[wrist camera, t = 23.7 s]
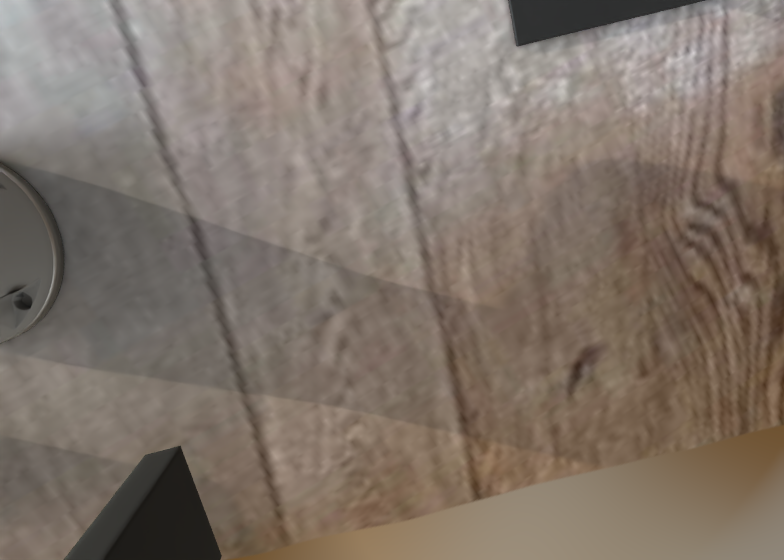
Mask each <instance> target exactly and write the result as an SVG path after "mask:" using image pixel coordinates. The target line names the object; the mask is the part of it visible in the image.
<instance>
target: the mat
mask: <svg viewBox="0 0 784 560" xmlns="http://www.w3.org/2000/svg"><path fill="white" fill-rule="evenodd" d="M508 1H509V7H510V13H511V18H512V24H513V29H514V35H515V41H516V46H521V45H525V44H529V43H533V42H537V41H541V40H545V39H549V38H553V37H557V36H562V35H566V34H570V33H574V32H578V31H582V30H586V29H590V28H594V27H598V26H603V25H607V24H611V23H615V22H619V21H623V20H627V19H631V18H635V17H639V16H644V15H648V14H652V13H656V12H660V11H664V10H668V9H672V8H676V7H680V6H685V5H689V4H693V3H697V2H701V1H705V0H508Z"/></svg>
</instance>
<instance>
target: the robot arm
mask: <svg viewBox="0 0 784 560" xmlns="http://www.w3.org/2000/svg"><path fill="white" fill-rule="evenodd" d="M63 272H64V251H63V244H62V240H61V236H60V232H59V229H58V227H57V224H56V222H55V219H54V217H53V215H52V214H51V212H50V210H49V208H48V207H47V205H46V204H45V202H44V201H43V199H42V198H41V197H40V195H39V194H38V193H37V192H36V191H35V190H34V189H33V188H32V186H31V185H30V184H28V183H27V182H26V181H25V180H24V179H23V178H22V177H20V176H19V175H18V174H16V173H15V172H14V171H12V170H11V169H9V168H8V167H6V166H4V165H2V164H0V344H1V343H3V342H6V341H8V340H10V339H12V338H15V337H17V336H19V335H21V334H23V333H25V332H26V331H28V330H29V329H31V328H32V327H33V326H34V325H36V324H37V323H38V322H39V321H40V320H41V319H42V318H43V317H44V316H45V315H46V313H47V312H48V311H49V309H50V308H51V306H52V305H53V303H54V301H55V299H56V297H57V295H58V293H59V290H60V287H61V283H62V279H63ZM221 556H222V555H221V553H220V550H219V547H218V545H217V542H216V539H215V537H214V534H213V531H212V529H211V526H210V523H209V521H208V518H207V515H206V513H205V510H204V507H203V505H202V502H201V499H200V497H199V494H198V491H197V489H196V486H195V484H194V481H193V478H192V476H191V473H190V470H189V468H188V465H187V462H186V460H185V457H184V454H183V452H182V449H181V446H178V447H174V448H170V449H166V450H163V451H159V452H155V453H151V454H147V455H145V456H144V457H143V459H142V460H141V461H140V462H139V464H138V465H137V466H136V468H135V469H134V470H133V471H132V473H131V474H130V475H129V477H128V478H127V479H126V480H125V482H124V483H123V484H122V486H121V487H120V488H119V489H118V491H117V492H116V493H115V495H114V496H113V497H112V498H111V500H110V501H109V502H108V504H107V505H106V506H105V507H104V509H103V510H102V511H101V513H100V514H99V515H98V516H97V518H96V519H95V520H94V522H93V523H92V524H91V525H90V527H89V528H88V529H87V530H86V532H85V533H84V534H83V536H82V537H81V538H80V539H79V541H78V542H77V543H76V545H75V546H74V547H73V548H72V550H71V551H70V552H69V554H68V555H67V556H66V557H65V559H64V560H220V559H221Z"/></svg>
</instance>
